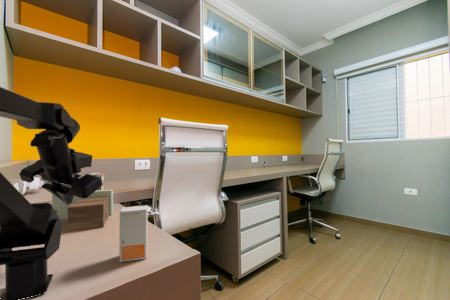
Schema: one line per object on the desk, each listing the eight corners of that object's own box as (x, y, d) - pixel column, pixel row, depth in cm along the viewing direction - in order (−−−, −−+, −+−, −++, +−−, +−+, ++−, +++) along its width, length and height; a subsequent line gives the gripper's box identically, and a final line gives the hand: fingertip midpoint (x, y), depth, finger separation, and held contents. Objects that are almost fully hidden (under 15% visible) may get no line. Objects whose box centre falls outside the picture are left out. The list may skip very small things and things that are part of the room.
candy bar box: (101, 213, 88) (101, 174, 88) (87, 215, 86) (87, 175, 86) (104, 207, 98) (104, 171, 98) (91, 208, 96) (91, 172, 96)
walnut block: (103, 228, 72) (103, 204, 72) (67, 232, 68) (67, 207, 68) (108, 216, 85) (108, 196, 85) (79, 219, 81) (79, 198, 81)
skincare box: (119, 263, 49) (118, 211, 49) (122, 254, 53) (122, 206, 53) (147, 259, 50) (146, 209, 50) (148, 251, 55) (147, 204, 55)
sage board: (111, 215, 85) (111, 190, 85) (52, 220, 79) (52, 194, 79) (113, 213, 88) (112, 189, 88) (56, 218, 82) (55, 192, 82)
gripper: (113, 148, 56) (119, 193, 64) (52, 133, 58) (65, 178, 66) (79, 170, 46) (90, 220, 54) (8, 151, 49) (28, 201, 56)
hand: (69, 203), depth 58 cm, fingers closed
